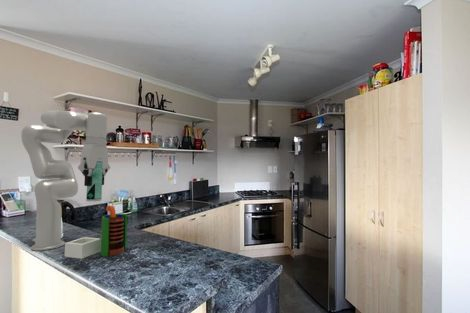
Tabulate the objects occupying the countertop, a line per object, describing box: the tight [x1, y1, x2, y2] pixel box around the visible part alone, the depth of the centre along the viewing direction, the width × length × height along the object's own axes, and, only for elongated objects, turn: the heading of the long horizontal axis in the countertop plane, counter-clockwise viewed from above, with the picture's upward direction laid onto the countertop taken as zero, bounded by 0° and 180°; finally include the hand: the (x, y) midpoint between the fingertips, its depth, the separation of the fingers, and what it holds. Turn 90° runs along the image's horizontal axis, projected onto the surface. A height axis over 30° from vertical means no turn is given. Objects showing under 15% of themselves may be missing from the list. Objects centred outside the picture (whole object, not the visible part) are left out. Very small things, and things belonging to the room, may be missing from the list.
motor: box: [100, 205, 128, 257], centre depth 107 cm, size 10×9×20 cm
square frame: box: [64, 236, 101, 259], centre depth 105 cm, size 9×9×6 cm
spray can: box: [85, 158, 103, 202], centre depth 103 cm, size 6×6×20 cm
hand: (94, 184), depth 103 cm, fingers closed on spray can, 5 cm apart
